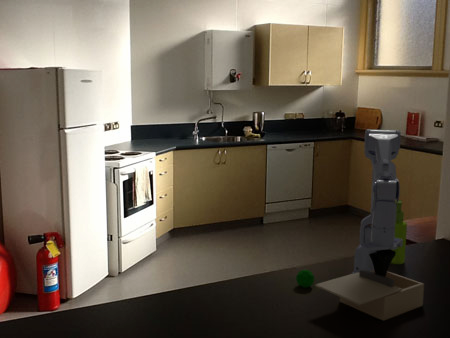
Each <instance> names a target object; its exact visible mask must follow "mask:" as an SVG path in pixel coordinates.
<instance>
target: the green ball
mask: <svg viewBox="0 0 450 338" xmlns="http://www.w3.org/2000/svg"><path fill="white" fill-rule="evenodd" d="M295 277H296V278H295V279H296V283H297V284H298V286H300V287H301V288H303V289H306V288H310V287H312V285H313V284H314V282H315V275H314V274H313V272H312V271H311V270H308V269H302V270H299V271H298V273H296V276H295Z"/></svg>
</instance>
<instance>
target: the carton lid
mask: <svg viewBox="0 0 450 338" xmlns="http://www.w3.org/2000/svg"><path fill="white" fill-rule="evenodd" d="M314 285H315V286H314V287H316V288H318V289H321V290H323V291H324V292H325V291H326V292H328V293H330V294H332V295H334V296H337V297H339V298H340V297H341V298H344V299H346V300H349V301H351V302H353V303H356V304H358V305H360V304H363V303H366V302H369V301H372V300H375V299H378V298H381V297H384V296H387V295H390V294H392V293H395V292H398V291H401V290H402V288H399V287H397V286H394V280H392V279H390V278H387V277H384V276H381V275H378V274H376V273H373V272H370V271H367V270H364V269H361V270H360V273H358V272H357V273H353V274H352V273H350V274H348V275H343V276H340V277H336V278H333V279H329V280H326V281H323V282H319V283H316V284H314Z"/></svg>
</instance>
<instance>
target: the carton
mask: <svg viewBox="0 0 450 338" xmlns="http://www.w3.org/2000/svg"><path fill="white" fill-rule="evenodd" d="M370 272H373V273H375V270H373V271H370ZM385 277H387V278H390V279H392V280H394V286H397V287H399V288H402V290H401V291H398V292H395V293H392V294H390V295H387V296H384V297H381V298H378V299H375V300H372V301H369V302H366V303H363V304H360V305H358V304H356V303H353V302H351V301H349V300H346V299H344V298H341V297H339V302H340V303H342V304H345V305H347V306H349V307H352V308H353V309H355V310H358V311H360V312H362V313H364V314H368V315H369V316H372V317H374V318H377V319H379V320H381V321H386V320H389V319H391V318H395V317H397V316H400V315H402V314H405V313H408V312H410V311H412V310H415V309H418V308H420V307H423V304H424V291H425V283H423V282H420V281H417V280H414V279H412V278H409V277H406V276H402V275H399V274H397V273H394V272H390V271H388V270H387V273H386V276H385Z"/></svg>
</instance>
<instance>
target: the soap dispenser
mask: <svg viewBox="0 0 450 338" xmlns="http://www.w3.org/2000/svg"><path fill="white" fill-rule="evenodd" d="M395 202H396V204H397V205H396V221H395V238H399V239H403V245H402V247H397V249H394V250H393V251H395V252H396V255H395V256H394V258H393V259H392V261H391V263H390V264H392V265H403V264H405V260H406V259H405V258H406V247H407V246H406V245H407V244H406V243H407V231H408V230H407V229H408V228H407V227H408V222H406V221H404V216H405V214H404V213H405V212H404V211H403V210H402V206H403V205H402V204H403V200H400V199H399V201H398V203H397V200H395Z"/></svg>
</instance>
